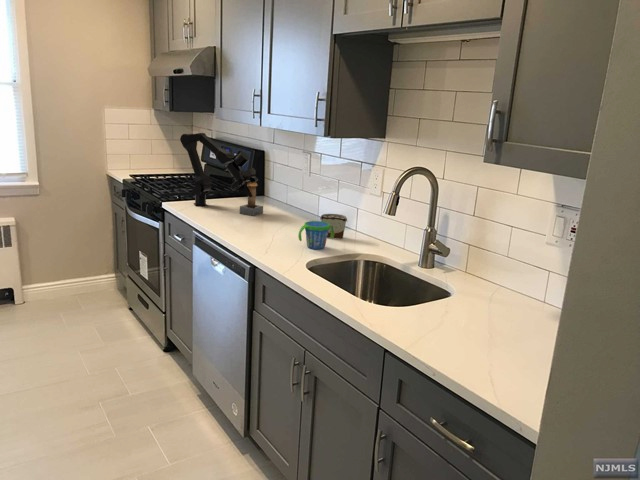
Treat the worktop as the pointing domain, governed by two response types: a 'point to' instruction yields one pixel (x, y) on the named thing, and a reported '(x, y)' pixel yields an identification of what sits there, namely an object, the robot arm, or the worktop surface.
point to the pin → (253, 191)
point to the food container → (335, 224)
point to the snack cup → (316, 234)
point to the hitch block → (251, 210)
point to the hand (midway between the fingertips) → (254, 196)
